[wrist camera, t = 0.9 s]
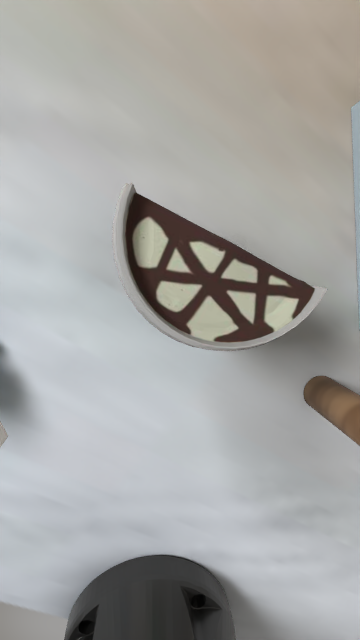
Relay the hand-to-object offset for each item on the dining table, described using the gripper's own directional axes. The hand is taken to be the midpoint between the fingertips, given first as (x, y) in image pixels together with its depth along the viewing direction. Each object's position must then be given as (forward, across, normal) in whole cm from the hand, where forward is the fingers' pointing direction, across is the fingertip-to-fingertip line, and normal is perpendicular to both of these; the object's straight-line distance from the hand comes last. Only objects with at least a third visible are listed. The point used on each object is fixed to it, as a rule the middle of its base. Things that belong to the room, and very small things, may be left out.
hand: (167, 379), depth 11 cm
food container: (+16, 0, +2) cm, 16 cm away
